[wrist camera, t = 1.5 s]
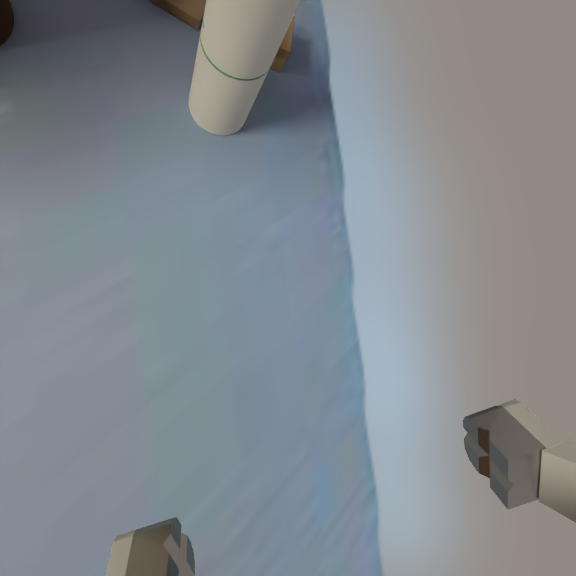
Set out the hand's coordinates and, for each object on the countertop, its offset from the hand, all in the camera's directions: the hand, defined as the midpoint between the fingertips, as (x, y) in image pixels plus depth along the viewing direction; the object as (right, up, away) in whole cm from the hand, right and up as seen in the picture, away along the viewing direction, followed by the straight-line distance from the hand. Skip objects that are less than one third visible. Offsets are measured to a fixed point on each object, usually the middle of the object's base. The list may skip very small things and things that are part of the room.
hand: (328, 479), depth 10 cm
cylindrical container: (-10, +27, +37) cm, 47 cm away
